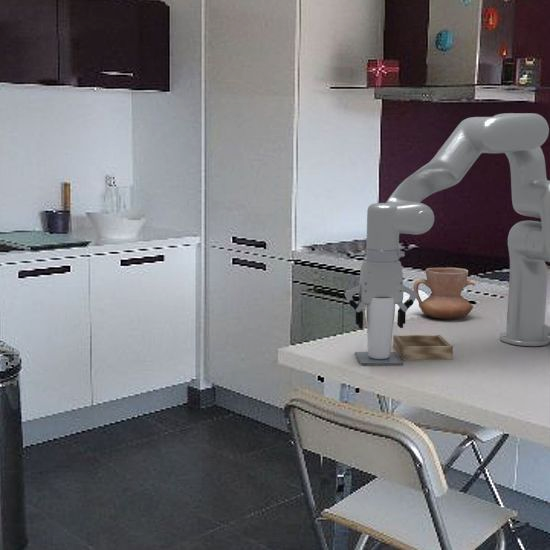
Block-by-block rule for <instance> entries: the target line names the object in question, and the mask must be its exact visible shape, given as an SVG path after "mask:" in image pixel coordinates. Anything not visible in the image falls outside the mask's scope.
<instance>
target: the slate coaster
mask: <svg viewBox="0 0 550 550" xmlns="http://www.w3.org/2000/svg"><path fill="white" fill-rule="evenodd" d="M354 356H355V358H356V359H357V361H358V362H359V364H360V365H361V367H363V366H370V367H371V366H376V367H377V366H404V365H405V364H404V363H405V362H404V361H403V359H401V356H400V355H399V354H398V353H397V351H390V357H389V358H387V359H373V358H370V357H369V356H368V351H354Z"/></svg>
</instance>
